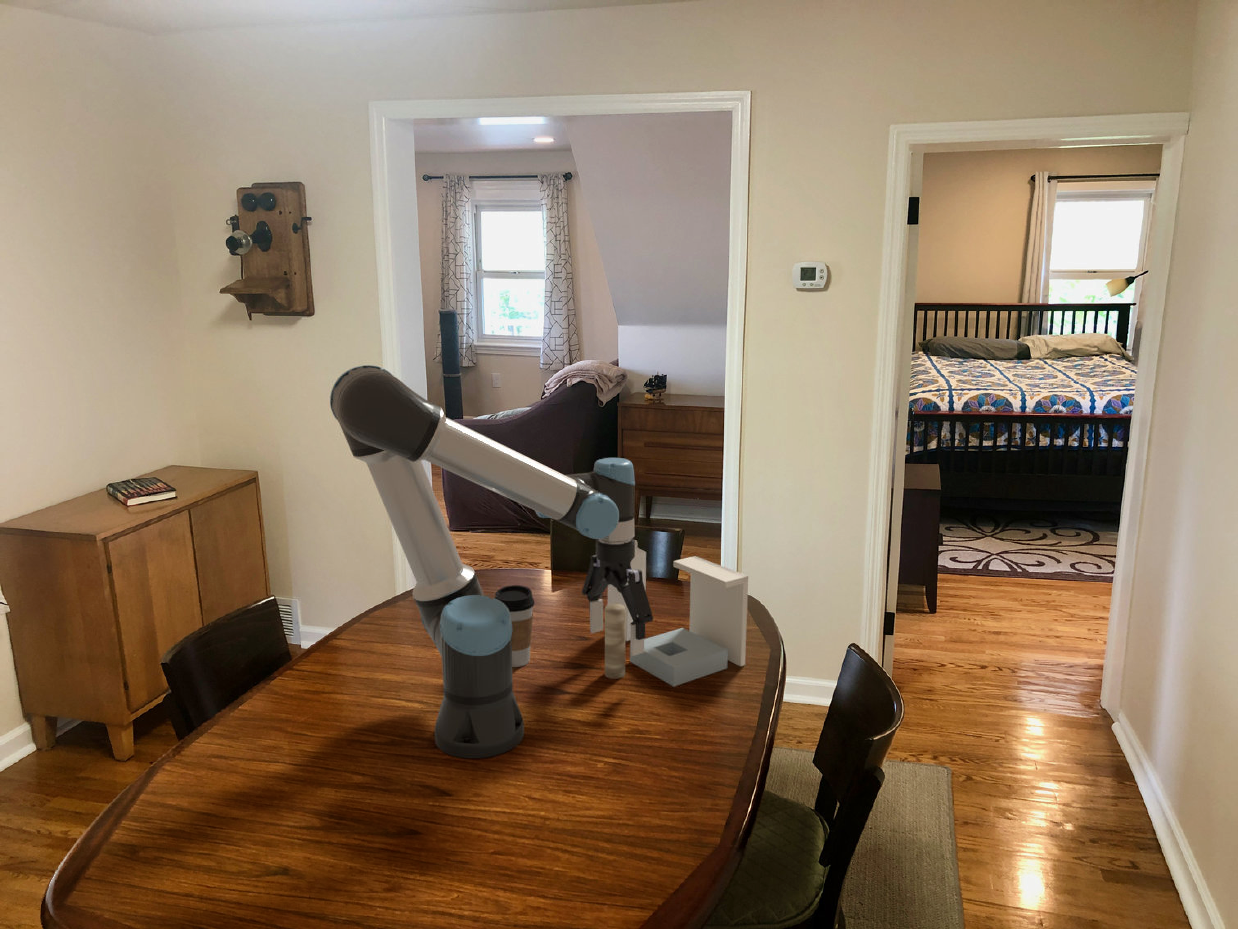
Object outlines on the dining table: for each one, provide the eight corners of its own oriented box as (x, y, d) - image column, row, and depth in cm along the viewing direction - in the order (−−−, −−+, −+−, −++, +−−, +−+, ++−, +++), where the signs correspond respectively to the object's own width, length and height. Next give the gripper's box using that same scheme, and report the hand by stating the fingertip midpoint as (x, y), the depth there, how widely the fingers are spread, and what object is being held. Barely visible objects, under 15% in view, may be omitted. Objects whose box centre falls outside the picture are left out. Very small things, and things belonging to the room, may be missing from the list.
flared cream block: (723, 672, 178) (725, 582, 174) (672, 646, 190) (673, 561, 186) (745, 665, 181) (748, 576, 177) (693, 639, 194) (695, 555, 190)
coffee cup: (539, 653, 186) (537, 585, 183) (531, 671, 178) (529, 600, 175) (499, 651, 187) (497, 584, 184) (489, 669, 179) (487, 598, 176)
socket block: (673, 686, 171) (673, 667, 171) (630, 661, 183) (630, 643, 182) (727, 668, 180) (727, 649, 179) (682, 645, 191) (682, 627, 190)
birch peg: (612, 680, 174) (612, 613, 171) (600, 673, 177) (600, 606, 174) (629, 675, 176) (629, 608, 173) (617, 668, 179) (617, 602, 177)
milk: (627, 642, 193) (627, 544, 188) (607, 634, 197) (606, 538, 192) (645, 633, 197) (646, 538, 192) (625, 626, 201) (625, 532, 196)
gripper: (671, 550, 163) (671, 658, 168) (594, 521, 183) (596, 618, 187) (639, 558, 159) (639, 669, 163) (563, 527, 179) (566, 626, 183)
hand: (616, 642), depth 175 cm, fingers open, 13 cm apart
